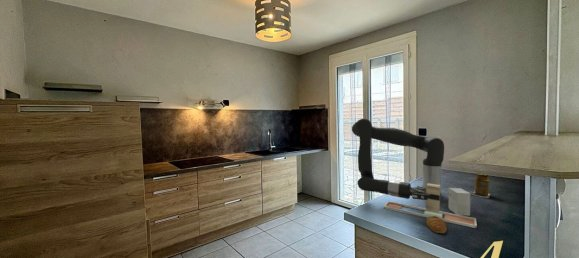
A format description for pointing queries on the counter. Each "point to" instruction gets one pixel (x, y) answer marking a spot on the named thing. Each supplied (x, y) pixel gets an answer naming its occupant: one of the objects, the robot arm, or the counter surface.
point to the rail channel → (430, 216)
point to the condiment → (481, 185)
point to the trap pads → (444, 218)
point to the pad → (433, 214)
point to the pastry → (436, 224)
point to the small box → (459, 201)
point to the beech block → (430, 203)
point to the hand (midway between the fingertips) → (439, 196)
